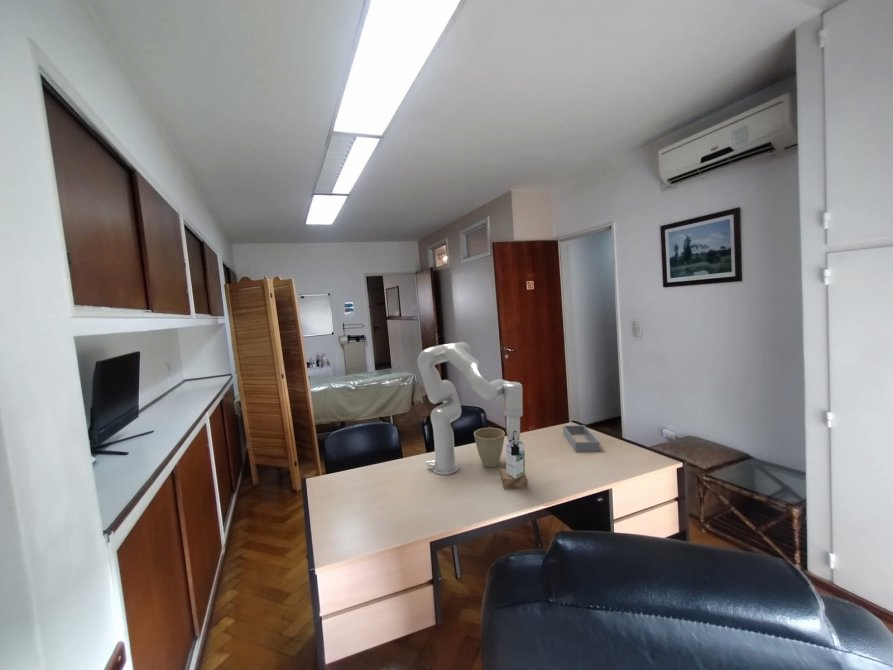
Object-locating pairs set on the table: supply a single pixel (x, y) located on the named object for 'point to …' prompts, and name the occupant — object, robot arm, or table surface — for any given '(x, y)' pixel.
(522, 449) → the syrup box
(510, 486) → the walnut block
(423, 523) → the table surface
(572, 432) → the frame
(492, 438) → the plant pot
